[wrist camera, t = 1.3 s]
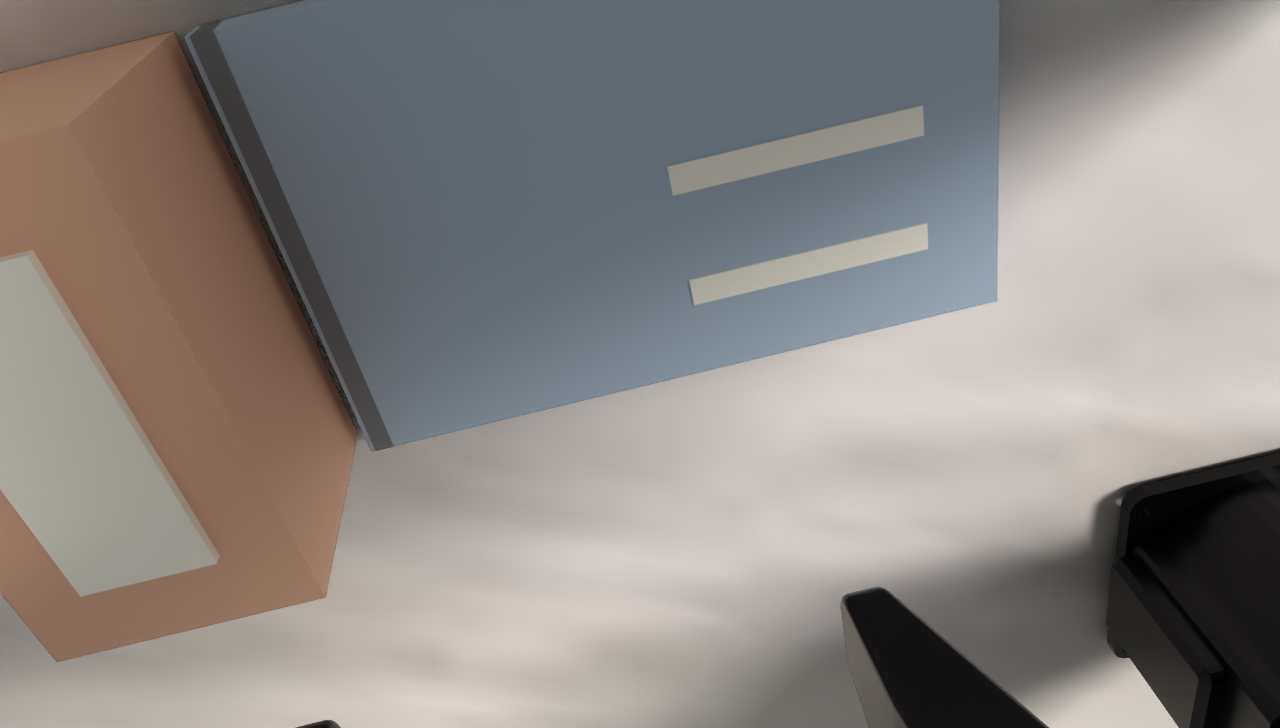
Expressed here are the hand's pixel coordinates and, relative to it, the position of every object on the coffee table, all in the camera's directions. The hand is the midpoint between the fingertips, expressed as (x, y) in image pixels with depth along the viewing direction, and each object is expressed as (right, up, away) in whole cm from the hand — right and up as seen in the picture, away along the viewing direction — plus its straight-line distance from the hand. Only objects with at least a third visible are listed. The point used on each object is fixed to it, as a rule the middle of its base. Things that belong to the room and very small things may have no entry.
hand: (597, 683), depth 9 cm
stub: (-9, +5, +10) cm, 14 cm away
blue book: (0, +7, +10) cm, 12 cm away
